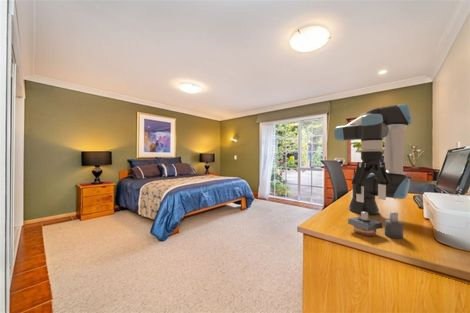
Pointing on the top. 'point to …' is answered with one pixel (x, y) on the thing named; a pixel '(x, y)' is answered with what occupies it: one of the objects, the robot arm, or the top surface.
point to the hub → (361, 231)
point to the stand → (394, 227)
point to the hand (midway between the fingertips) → (371, 200)
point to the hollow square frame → (365, 223)
